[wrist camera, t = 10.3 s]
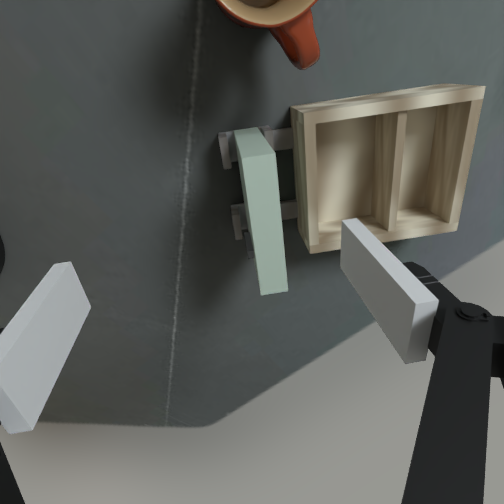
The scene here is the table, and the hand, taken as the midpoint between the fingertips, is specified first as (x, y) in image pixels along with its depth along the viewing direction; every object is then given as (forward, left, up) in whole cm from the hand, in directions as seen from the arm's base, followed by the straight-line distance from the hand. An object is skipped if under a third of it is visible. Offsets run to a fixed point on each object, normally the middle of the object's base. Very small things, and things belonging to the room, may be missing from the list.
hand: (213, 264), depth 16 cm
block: (+4, -3, -21) cm, 22 cm away
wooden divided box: (+13, -3, -22) cm, 25 cm away
